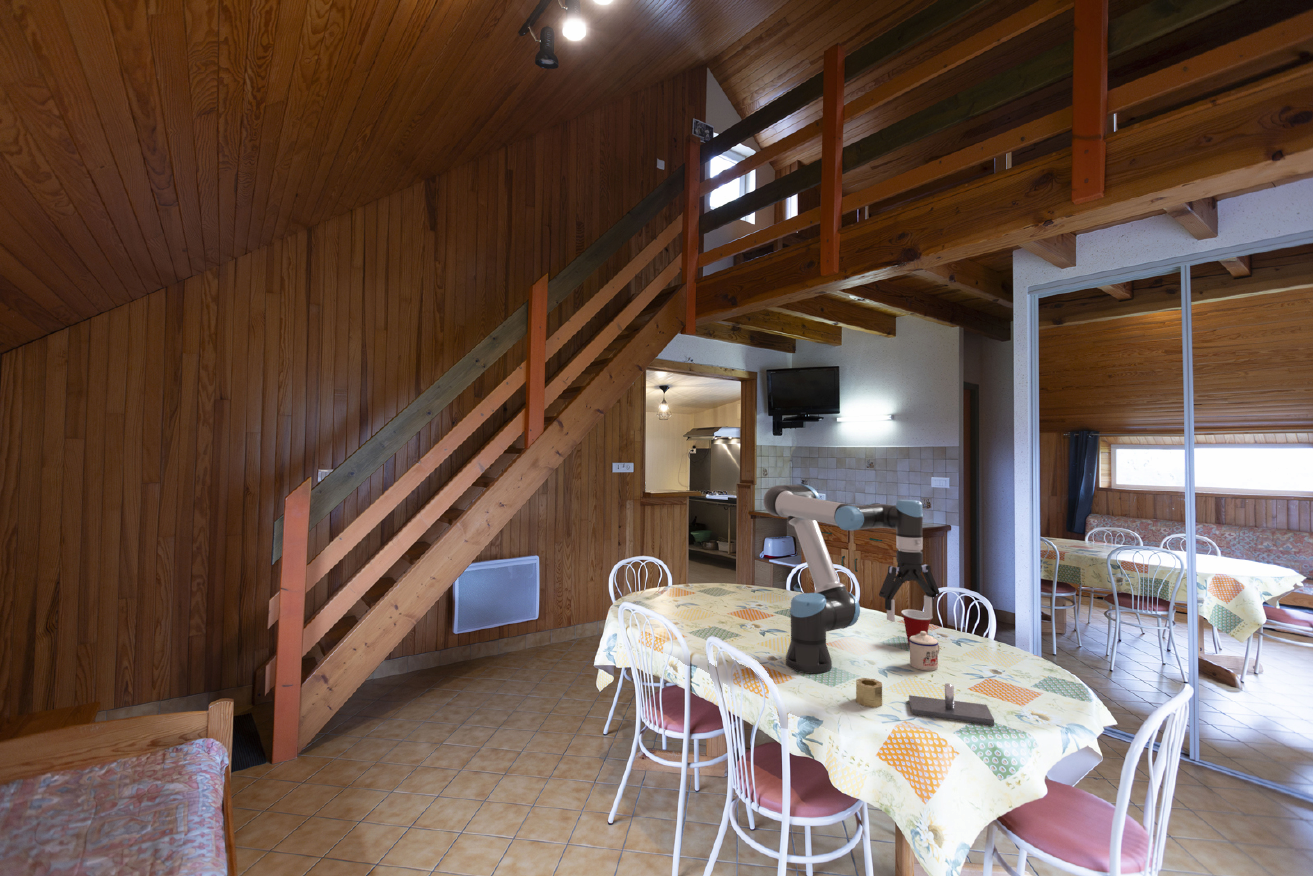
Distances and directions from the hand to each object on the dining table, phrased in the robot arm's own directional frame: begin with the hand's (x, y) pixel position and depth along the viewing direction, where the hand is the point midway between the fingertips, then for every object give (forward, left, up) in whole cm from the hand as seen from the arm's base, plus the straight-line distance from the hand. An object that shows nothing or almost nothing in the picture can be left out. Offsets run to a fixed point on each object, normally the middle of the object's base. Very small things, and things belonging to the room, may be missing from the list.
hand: (909, 619), depth 182 cm
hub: (-12, -16, -21) cm, 29 cm away
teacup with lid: (+7, +22, -21) cm, 31 cm away
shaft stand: (+9, -16, -21) cm, 28 cm away
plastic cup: (+6, +45, -21) cm, 50 cm away
